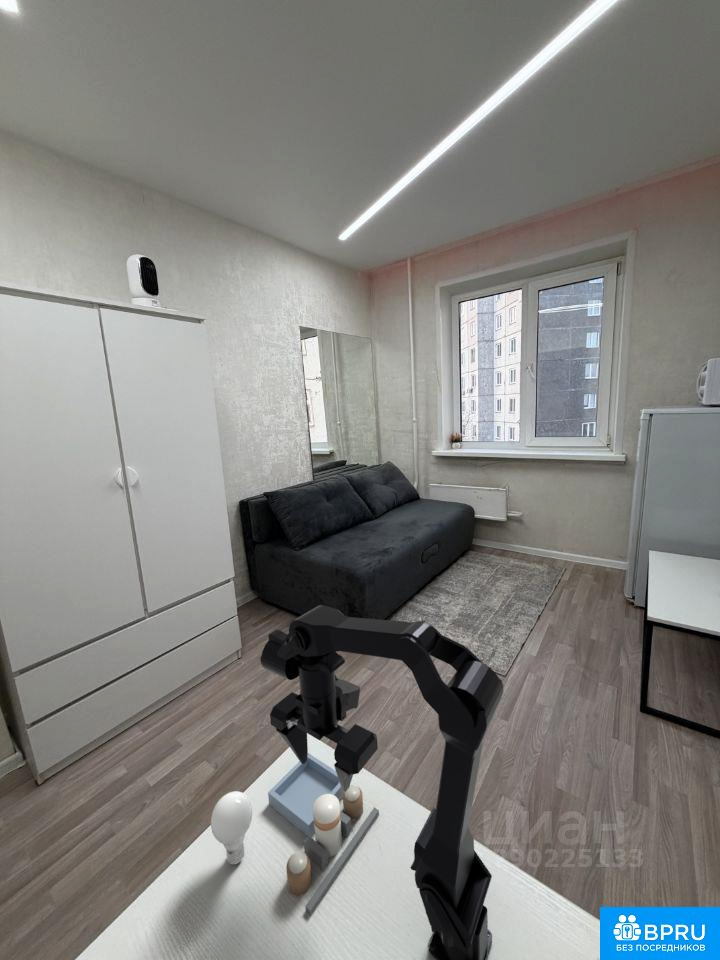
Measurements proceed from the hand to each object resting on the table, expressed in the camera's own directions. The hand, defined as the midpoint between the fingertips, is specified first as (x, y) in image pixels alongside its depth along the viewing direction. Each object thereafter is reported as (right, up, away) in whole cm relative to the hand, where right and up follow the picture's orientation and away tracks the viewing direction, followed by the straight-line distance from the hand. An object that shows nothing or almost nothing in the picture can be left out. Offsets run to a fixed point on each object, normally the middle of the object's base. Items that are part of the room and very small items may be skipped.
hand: (324, 775), depth 62 cm
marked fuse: (+1, -13, +1) cm, 13 cm away
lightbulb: (-15, -14, 0) cm, 20 cm away
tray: (-4, -12, +10) cm, 16 cm away
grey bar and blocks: (+2, -13, +1) cm, 13 cm away
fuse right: (+5, -12, +7) cm, 14 cm away
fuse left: (-4, -14, -4) cm, 14 cm away
